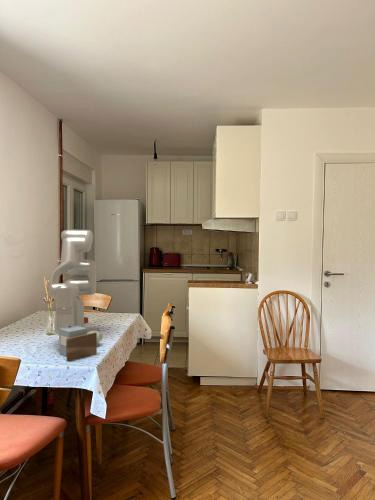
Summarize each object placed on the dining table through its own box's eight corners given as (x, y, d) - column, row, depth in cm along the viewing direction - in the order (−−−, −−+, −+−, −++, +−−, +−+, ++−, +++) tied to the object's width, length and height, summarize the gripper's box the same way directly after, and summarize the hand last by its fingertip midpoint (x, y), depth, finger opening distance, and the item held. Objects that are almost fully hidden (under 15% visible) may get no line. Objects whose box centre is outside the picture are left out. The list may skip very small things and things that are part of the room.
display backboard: (66, 360, 162) (65, 338, 162) (94, 353, 173) (94, 332, 173) (67, 361, 161) (67, 339, 161) (96, 353, 172) (96, 332, 172)
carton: (71, 320, 247) (71, 314, 247) (88, 323, 239) (88, 316, 239) (61, 322, 240) (61, 316, 240) (78, 325, 232) (78, 319, 232)
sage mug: (84, 346, 185) (84, 332, 185) (98, 342, 192) (98, 329, 191) (91, 348, 181) (91, 334, 181) (105, 344, 188) (105, 331, 187)
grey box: (59, 354, 172) (58, 328, 172) (76, 349, 179) (76, 325, 179) (69, 358, 166) (68, 331, 166) (86, 353, 173) (86, 328, 173)
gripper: (49, 309, 179) (49, 347, 180) (65, 314, 169) (65, 353, 170) (63, 307, 185) (63, 343, 185) (79, 311, 175) (79, 349, 175)
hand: (64, 348), depth 178 cm, fingers closed
